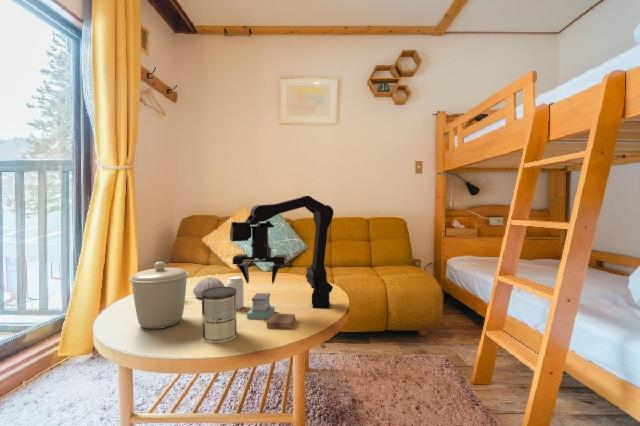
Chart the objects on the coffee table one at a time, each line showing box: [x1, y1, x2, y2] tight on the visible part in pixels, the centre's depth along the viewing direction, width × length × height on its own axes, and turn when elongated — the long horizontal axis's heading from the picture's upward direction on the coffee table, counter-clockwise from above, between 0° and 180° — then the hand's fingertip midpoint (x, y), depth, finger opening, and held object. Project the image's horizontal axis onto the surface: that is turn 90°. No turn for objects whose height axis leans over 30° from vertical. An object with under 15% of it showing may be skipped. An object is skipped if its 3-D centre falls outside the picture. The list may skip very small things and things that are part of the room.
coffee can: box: [201, 286, 238, 344], centre depth 101 cm, size 10×10×14 cm
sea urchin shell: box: [192, 276, 226, 299], centre depth 144 cm, size 13×14×8 cm
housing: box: [251, 292, 271, 313], centre depth 119 cm, size 7×5×5 cm
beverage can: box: [226, 275, 245, 311], centre depth 127 cm, size 6×6×12 cm
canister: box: [128, 261, 190, 330], centre depth 111 cm, size 18×18×21 cm
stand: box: [246, 305, 276, 320], centre depth 119 cm, size 8×8×2 cm
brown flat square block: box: [266, 313, 296, 330], centre depth 111 cm, size 8×8×2 cm
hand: (260, 283), depth 119 cm, fingers open, 9 cm apart
